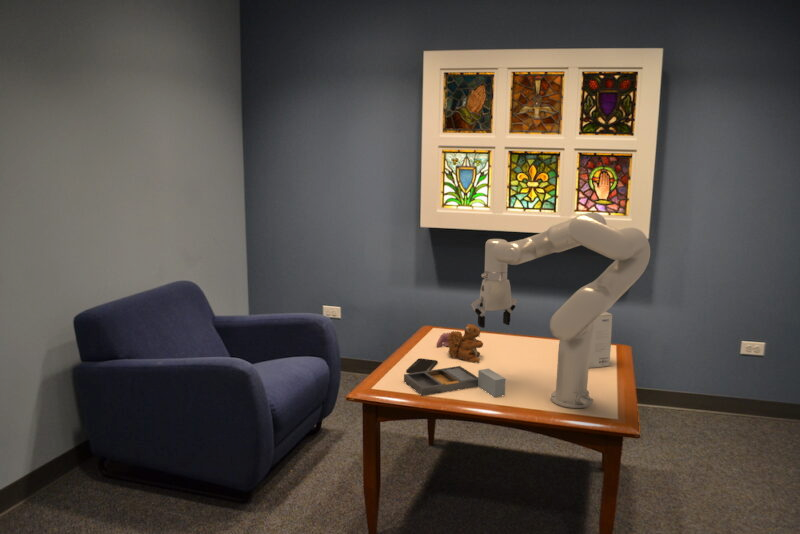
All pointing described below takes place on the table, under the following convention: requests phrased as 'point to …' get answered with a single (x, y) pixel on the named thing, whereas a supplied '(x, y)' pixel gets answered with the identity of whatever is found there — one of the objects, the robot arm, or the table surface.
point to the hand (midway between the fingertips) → (493, 325)
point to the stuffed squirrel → (465, 344)
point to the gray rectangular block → (491, 382)
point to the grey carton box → (601, 341)
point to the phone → (422, 365)
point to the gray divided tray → (441, 380)
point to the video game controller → (443, 340)
